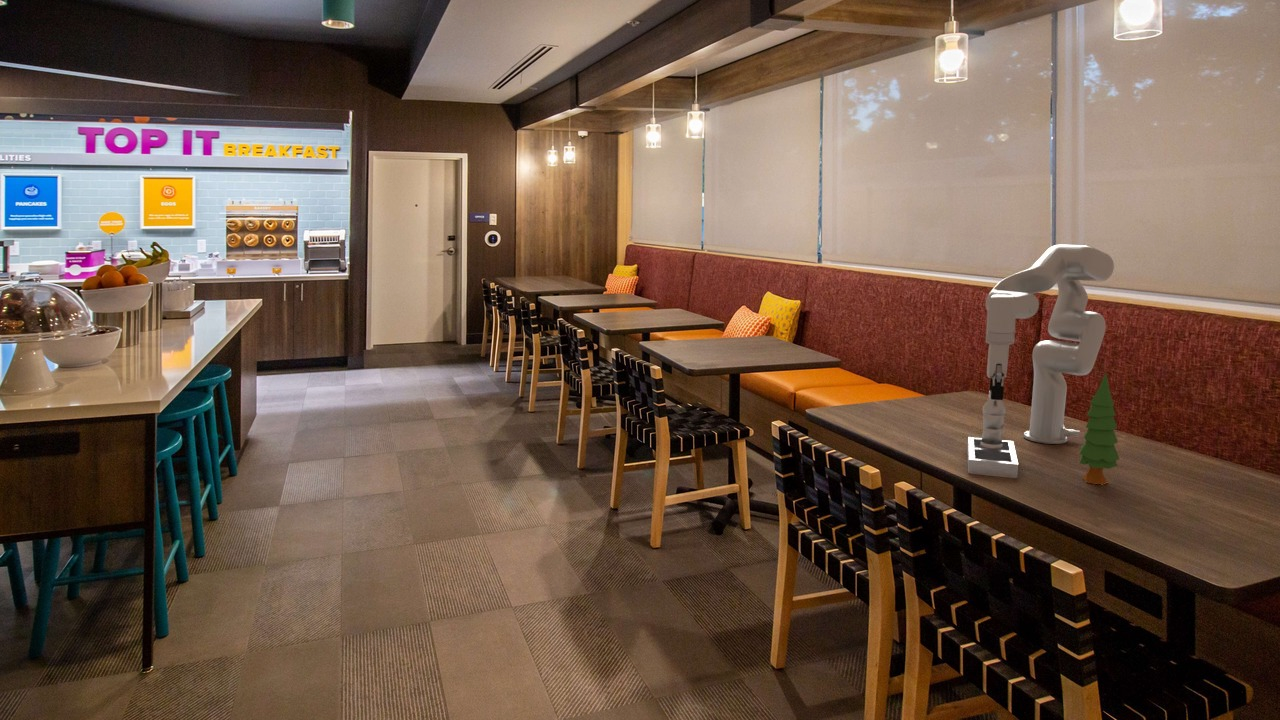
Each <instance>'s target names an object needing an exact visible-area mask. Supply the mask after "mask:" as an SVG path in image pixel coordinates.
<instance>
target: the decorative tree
mask: <svg viewBox="0 0 1280 720" xmlns="http://www.w3.org/2000/svg"><path fill="white" fill-rule="evenodd" d="M1089 403H1090V404H1091V406H1090V408H1089V409H1088V410H1089V411H1088V413H1087V414H1086V415H1087V416H1088V417H1089V418H1088V420H1087V424H1086V425H1085V429H1086V428H1087V430H1086V432H1085V434H1084V435H1083V437H1082V438H1084V439H1085V441H1084V443H1083V444H1082V445H1081V447H1080V449H1079V455H1080V458H1079V464H1081V465H1088V469H1087V471H1086V473H1085V474H1084V475H1083V476H1082V480H1083V479H1084V480H1085V481H1086V482H1088V483H1087V484H1089V483H1094V484H1093V485H1095V484H1104V483H1106V482H1108V481H1109V480H1107V478H1106V477H1105V475H1104V474H1103V472H1104V469H1108V470H1111V469H1113V468H1115V467H1118V464H1117V461H1119V460H1120V457H1119V454H1118V451H1117V449H1116V446H1115V444H1117V443H1119V441H1118V439H1117V436H1116V434H1115V431H1114V430H1116V429H1118V427H1117V423H1116V420H1115V417H1114V416H1116V412H1115V409H1114V406H1115V404H1114V400H1113V398H1112V395H1111V389H1110V383H1109V379H1108V376H1107V372H1106V371H1105V372H1104V375H1103V378H1102V380H1101V382H1100V385H1099V387H1098V389H1097V391H1096V392H1095V394H1094V395H1093V397H1092V398H1091V400H1090V402H1089ZM1084 480H1083V481H1084ZM1085 481H1084V482H1085ZM1086 482H1085V483H1086ZM1108 483H1109V482H1108Z"/></svg>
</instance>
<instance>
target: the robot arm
mask: <svg viewBox="0 0 1280 720" xmlns="http://www.w3.org/2000/svg"><path fill="white" fill-rule="evenodd" d="M1114 264H1115V263H1114V260H1113V259H1112V257H1111V255H1109V254H1108V253H1106V252H1103V251H1102V250H1101V249H1100V250H1099V249H1097V248H1095V247H1092V246H1089V245H1081V244H1055V245H1052V246H1050V247H1048V249H1046V250H1045V252H1044V253H1043V254H1042V255H1041V256H1040V257H1039V258H1038V259H1037V260H1036V261H1035V262H1034V263H1033V264H1032V265H1031V266H1030V267H1029V268H1027V269H1024V270H1021V271H1018V272H1017V273H1014V274H1011V275H1009V276H1007V277H1005V278H1003V279H1001V280H999V282H998V283H996V285H995V286H994V287H993V288H992V289H991V290H990V291H989V293H988V295H987V296H986V299H985V309H986V311H987V313H986V316H987V317H986V329H985V343H986V344H988V351H987V352H988V353H987V366H986V367H987V368H986V376H987V377H988V378H989V380H990V381H989V391H991V399H992V400H1001V401H1003V400H1004V389H1005V386H1004V379H1005V378H1006V377H1007V371H1008V364H1009V353H1010V346H1011V345H1014V344H1015V333H1016V319H1025V320H1026V319H1029V318H1032V317H1033V316H1035V315H1036V313H1037V312H1038V311H1039V306H1040V301H1039V298H1038V297H1037V296H1036V295H1035V294H1038V293H1039V294H1040V293H1044V292H1046V291H1050V290H1051V289H1052V288H1053V287H1054V286H1055V285H1056V284H1057V290H1058V292H1057V299H1056V302H1055V304H1054V307H1053V309H1052V313H1051V316H1050V318H1049V322H1048V326H1047V331H1048V333H1049V335H1050V336H1051V337H1052V338H1056V339H1058V340H1051V339H1049V340H1047V339H1046V340H1042V341H1039V342H1037V343H1036V344H1035V345H1034V347H1033V348H1032V349H1033V350H1032V355H1031V356H1032V367H1033V385H1032V395H1031V397H1032V399H1031V410H1030V421H1029V430H1026V431H1024V432H1023V438H1025V440H1028V441H1031V442H1035V443H1040V444H1046V445H1048V444H1050V445H1060V444H1065V443H1068V437H1075V438H1076V437H1077V438H1079V437H1080V430H1075V429H1072V428H1071V429H1070V428H1069V429H1068V428H1066V427H1065V425H1064V421H1065V420H1064V419H1065V412H1066V411H1065V410H1066V401H1067V400H1066V399H1067V389H1068V385H1067V382H1066V380H1065V377H1064V375H1063V374H1069V375H1075V376H1086V375H1088V374H1089V373H1091V372H1092V370H1093V367H1094V366H1095V362H1096V360H1097V357H1098V354H1099V351H1100V349H1101V346H1102V342H1103V340H1104V338H1105V337H1104V336H1105V332H1106V320H1105V317H1104V316H1103V315H1102V314H1101V313H1098V312H1096V311H1090V310H1089V311H1087V310H1086V308H1087V304H1088V301H1089V296H1088V293H1087V291H1086V288H1085V287H1084V286H1083V284H1082V283H1081V281H1085V282H1104V281H1107V280H1108V279H1110V278H1111V277H1112V275H1113V273H1114V268H1115V265H1114ZM1060 340H1061V341H1060ZM1062 340H1065V341H1062ZM1068 341H1073V342H1075V343H1073V342H1068ZM1076 342H1079V343H1076Z"/></svg>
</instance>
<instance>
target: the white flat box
mask: <svg viewBox="0 0 1280 720" xmlns="http://www.w3.org/2000/svg"><path fill="white" fill-rule="evenodd" d="M981 440H982V437H973V436H972V437H971V436H968V437H967V447H966V449H967V451H966V452H967V473H968V474H971V475H980V476H981V475H982V476H989V477H990V476H991V477H999V478H1007V479H1008V478H1011V479H1018V472H1019V461H1018V457H1017V452H1016V448H1015V442H1014V441H1013V440H1007V439H1006V440H1003V439H1002V444H1003V450H997V449H986V448H980V443H981Z"/></svg>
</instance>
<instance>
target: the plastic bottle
mask: <svg viewBox="0 0 1280 720" xmlns="http://www.w3.org/2000/svg"><path fill="white" fill-rule="evenodd" d="M1006 412H1007V408H1006V406H1005V403H1004V402H1003V400H992V399H991V391H990V390H989V391H988V400H987V401H986V402H985V403H984V404H983V407H982V419H983V420H982V423H983V425H982V435H981V438H982V440H981V443H980V448H986V449H997V450H1003V444H1002V440H1003V428H1004V427H1003V426H1004V422H1005V417H1006Z"/></svg>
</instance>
